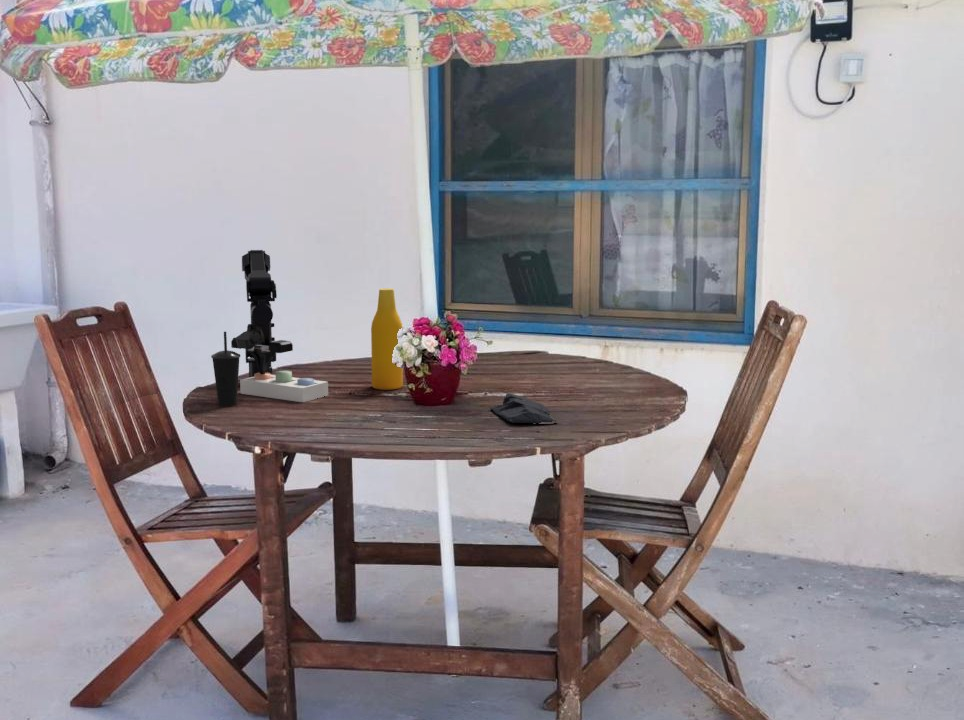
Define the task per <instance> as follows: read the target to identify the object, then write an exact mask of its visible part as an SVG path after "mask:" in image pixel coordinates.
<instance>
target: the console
mask: <svg viewBox="0 0 964 720" xmlns="http://www.w3.org/2000/svg"><path fill="white" fill-rule="evenodd" d="M300 378H301V377H294V376H292V382H287V383H280V382H276V375H275V374H273V373H272V374H271V379H267V380H258V379H254V377H250V378H249V377H246V378H242V379H239V385H240V390H239V391H240V394H241V395H248V396H255V397H262V398H263V397H264V398H268V399H269V398H271V399H277V400H283V401H290V402H291V401H292V402H298V403H306V402H309V401H314V400H317V398H318V399H321V398H324V396H325V397H329V382H328V381H325V380H318V379H314V384H313V385H309V386H302V385H297V379H300Z"/></svg>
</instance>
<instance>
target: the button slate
mask: <svg viewBox="0 0 964 720" xmlns="http://www.w3.org/2000/svg"><path fill="white" fill-rule="evenodd" d="M299 378H300V379H297V385H302V386H309V385H313V384H314V380H315V378H312V377H302V378H301V377H299Z"/></svg>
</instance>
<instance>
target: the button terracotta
mask: <svg viewBox="0 0 964 720" xmlns="http://www.w3.org/2000/svg"><path fill="white" fill-rule="evenodd" d="M254 379H258V380H267V379H271V374H270V373H265V374H260V373H256V374H254Z"/></svg>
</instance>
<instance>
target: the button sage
mask: <svg viewBox="0 0 964 720" xmlns="http://www.w3.org/2000/svg"><path fill="white" fill-rule="evenodd" d="M274 375H276V382H280V383H287V382H292V377H293V372H292V370H276V371H275V374H274Z"/></svg>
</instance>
